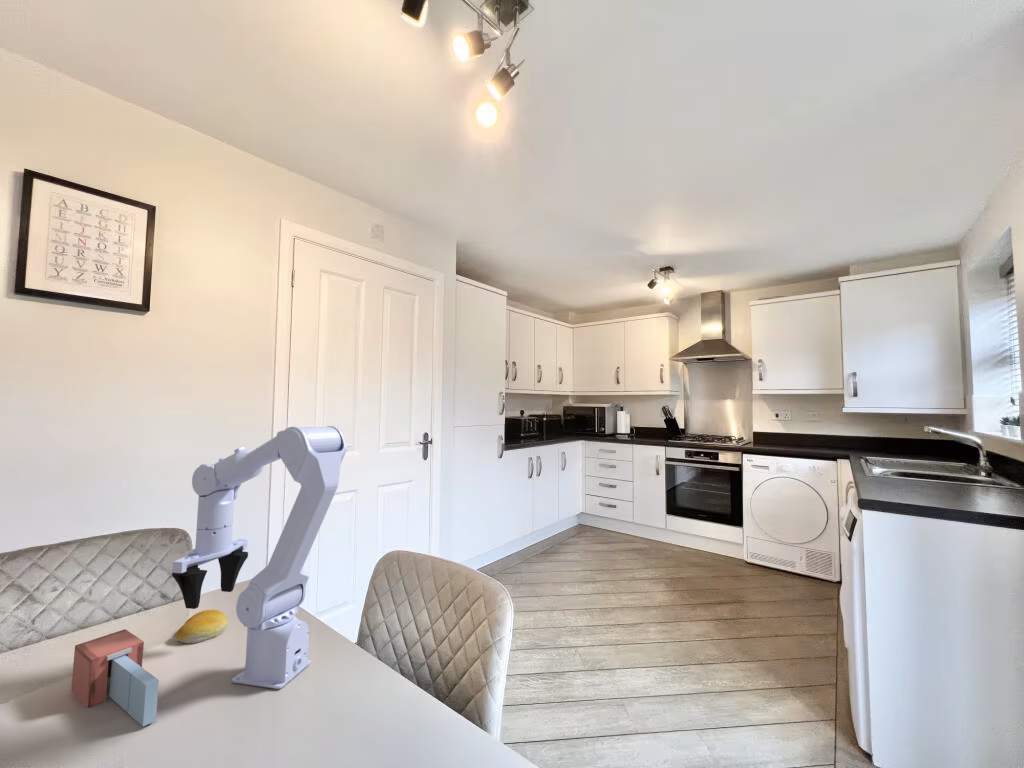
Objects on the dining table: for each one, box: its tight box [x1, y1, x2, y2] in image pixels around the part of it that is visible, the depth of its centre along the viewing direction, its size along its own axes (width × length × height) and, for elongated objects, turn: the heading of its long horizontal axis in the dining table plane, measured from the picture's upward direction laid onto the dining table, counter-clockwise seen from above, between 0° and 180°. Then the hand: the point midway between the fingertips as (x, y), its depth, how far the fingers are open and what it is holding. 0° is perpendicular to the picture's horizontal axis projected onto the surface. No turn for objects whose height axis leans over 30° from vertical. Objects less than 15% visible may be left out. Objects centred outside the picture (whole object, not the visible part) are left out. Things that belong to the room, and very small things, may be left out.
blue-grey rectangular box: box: [108, 655, 160, 727], centre depth 65 cm, size 13×2×6 cm, turn 59°
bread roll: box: [175, 609, 229, 645], centre depth 88 cm, size 8×9×4 cm
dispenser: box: [70, 629, 145, 708], centre depth 70 cm, size 8×6×7 cm
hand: (210, 599), depth 81 cm, fingers open, 7 cm apart
